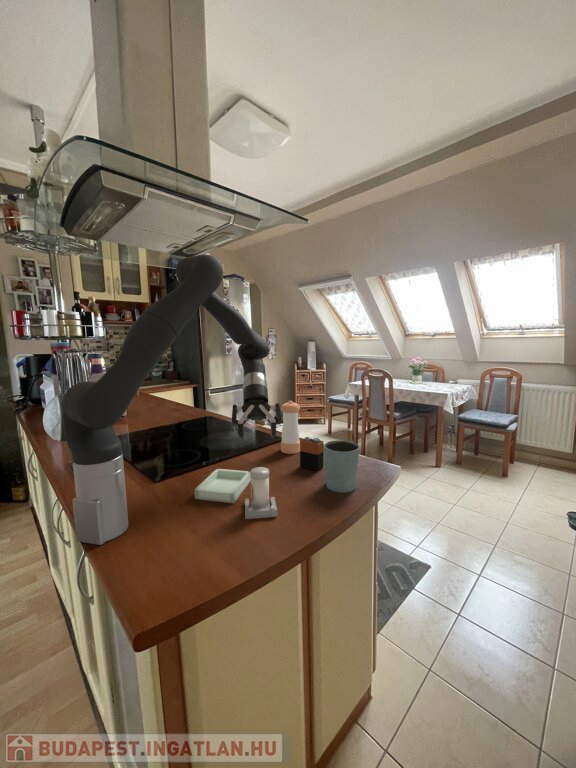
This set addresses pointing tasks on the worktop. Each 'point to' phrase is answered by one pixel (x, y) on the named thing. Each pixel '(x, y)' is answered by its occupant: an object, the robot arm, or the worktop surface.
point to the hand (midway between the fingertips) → (257, 437)
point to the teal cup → (341, 465)
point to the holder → (260, 511)
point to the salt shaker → (290, 428)
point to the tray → (223, 485)
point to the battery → (311, 453)
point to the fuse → (260, 488)
